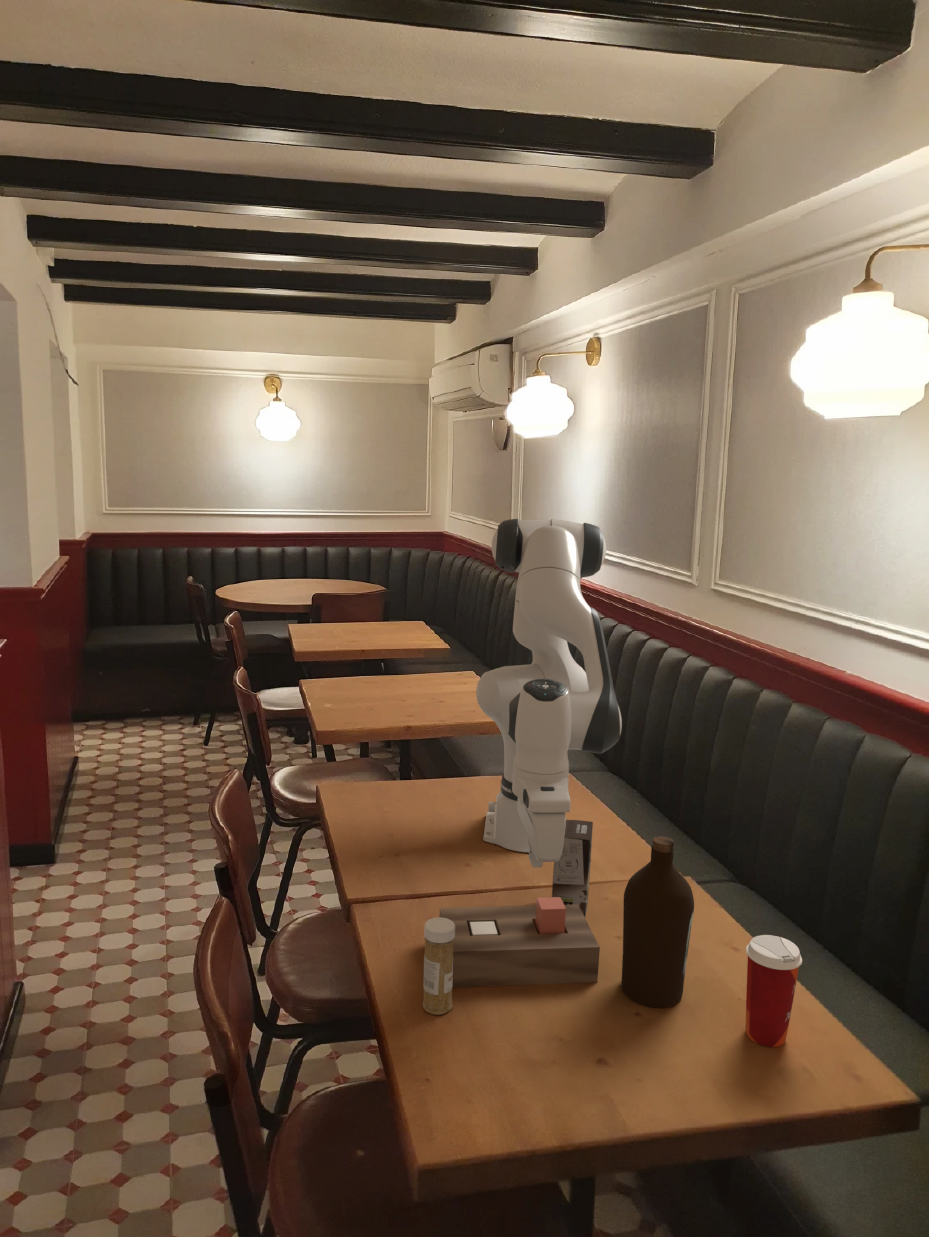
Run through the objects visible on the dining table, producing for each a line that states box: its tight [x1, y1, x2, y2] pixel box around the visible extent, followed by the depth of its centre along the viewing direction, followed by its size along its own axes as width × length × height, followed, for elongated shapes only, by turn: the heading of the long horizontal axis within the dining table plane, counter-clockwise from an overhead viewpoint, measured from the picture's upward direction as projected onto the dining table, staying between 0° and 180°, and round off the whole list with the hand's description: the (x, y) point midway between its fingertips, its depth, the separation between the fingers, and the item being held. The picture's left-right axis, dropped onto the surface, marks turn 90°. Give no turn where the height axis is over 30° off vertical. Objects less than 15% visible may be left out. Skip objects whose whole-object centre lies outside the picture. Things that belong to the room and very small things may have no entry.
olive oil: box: [621, 836, 695, 1009], centre depth 140 cm, size 11×11×25 cm
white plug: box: [469, 921, 498, 936], centre depth 148 cm, size 4×4×6 cm
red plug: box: [535, 896, 566, 934], centre depth 149 cm, size 4×4×6 cm
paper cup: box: [745, 934, 803, 1048], centre depth 131 cm, size 8×8×14 cm
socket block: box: [439, 904, 601, 988], centre depth 149 cm, size 14×24×6 cm, turn 97°
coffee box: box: [551, 819, 594, 918], centre depth 166 cm, size 9×6×16 cm
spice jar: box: [422, 917, 455, 1016], centre depth 135 cm, size 5×5×14 cm
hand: (535, 863), depth 147 cm, fingers closed
